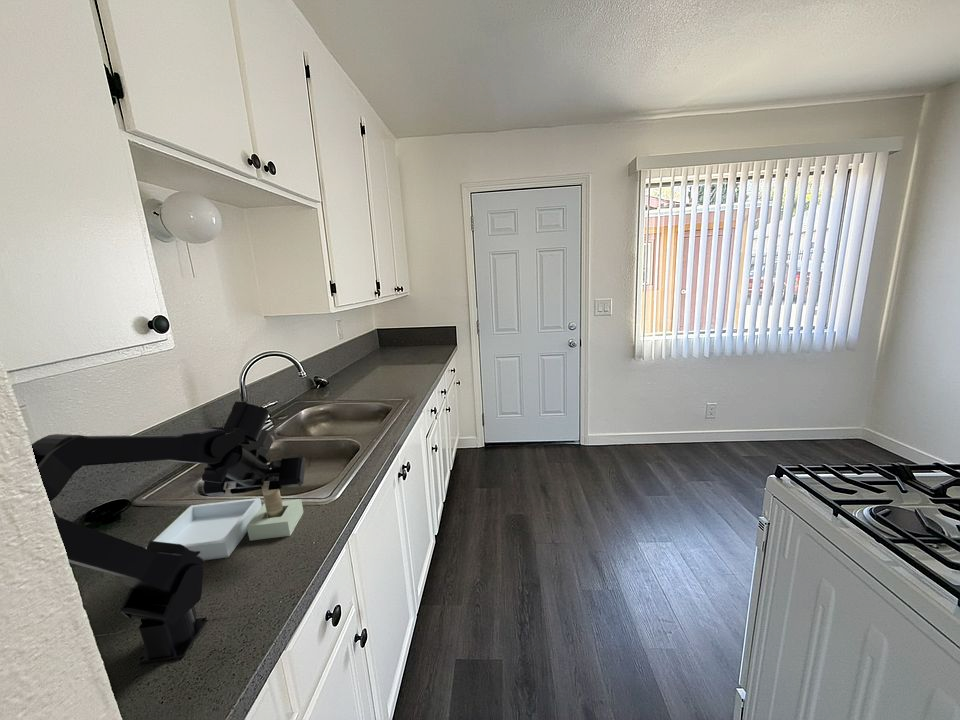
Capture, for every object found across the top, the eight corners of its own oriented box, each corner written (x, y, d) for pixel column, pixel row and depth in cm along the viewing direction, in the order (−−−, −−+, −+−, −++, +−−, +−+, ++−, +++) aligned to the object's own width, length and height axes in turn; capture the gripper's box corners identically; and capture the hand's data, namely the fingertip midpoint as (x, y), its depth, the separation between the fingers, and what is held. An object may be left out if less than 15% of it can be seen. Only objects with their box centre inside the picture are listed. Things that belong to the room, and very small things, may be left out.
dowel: (280, 518, 84) (270, 469, 81) (265, 520, 84) (254, 470, 81) (286, 509, 87) (276, 462, 84) (271, 511, 87) (261, 463, 84)
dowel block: (290, 535, 82) (287, 521, 82) (249, 540, 82) (246, 526, 81) (303, 512, 91) (301, 499, 90) (266, 516, 90) (263, 503, 89)
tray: (228, 557, 77) (224, 542, 76) (145, 567, 76) (141, 552, 75) (262, 510, 92) (260, 497, 91) (194, 518, 91) (190, 505, 90)
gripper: (295, 419, 77) (319, 446, 91) (197, 429, 76) (237, 454, 89) (287, 474, 71) (314, 494, 85) (181, 486, 70) (226, 504, 83)
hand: (273, 485), depth 85 cm, fingers closed on dowel, 3 cm apart
